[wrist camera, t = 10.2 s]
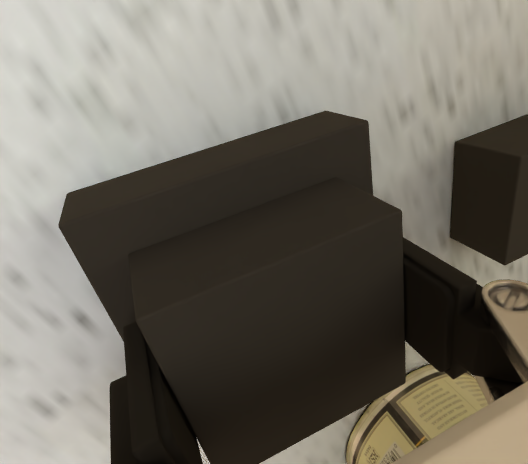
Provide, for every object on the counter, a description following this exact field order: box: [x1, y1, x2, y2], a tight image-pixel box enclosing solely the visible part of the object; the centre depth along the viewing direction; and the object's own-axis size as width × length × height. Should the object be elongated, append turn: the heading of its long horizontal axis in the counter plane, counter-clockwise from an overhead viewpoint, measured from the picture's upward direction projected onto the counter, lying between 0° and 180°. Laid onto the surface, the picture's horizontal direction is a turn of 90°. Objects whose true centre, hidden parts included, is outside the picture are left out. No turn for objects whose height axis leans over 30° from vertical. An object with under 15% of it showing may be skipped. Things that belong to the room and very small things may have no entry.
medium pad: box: [128, 177, 406, 464], centre depth 11 cm, size 6×6×3 cm
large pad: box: [59, 111, 373, 341], centre depth 13 cm, size 9×9×2 cm
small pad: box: [450, 115, 528, 265], centre depth 16 cm, size 5×5×3 cm
